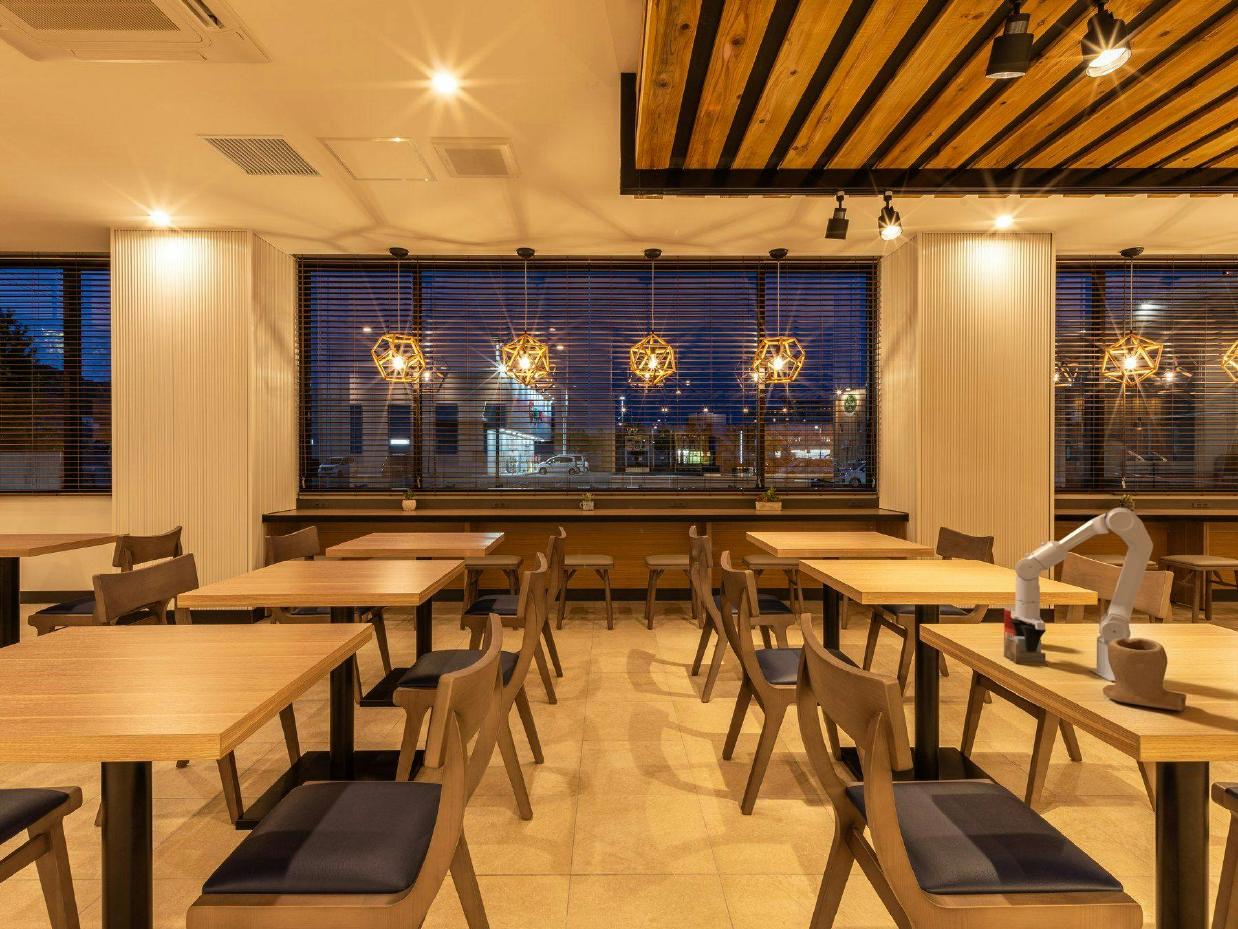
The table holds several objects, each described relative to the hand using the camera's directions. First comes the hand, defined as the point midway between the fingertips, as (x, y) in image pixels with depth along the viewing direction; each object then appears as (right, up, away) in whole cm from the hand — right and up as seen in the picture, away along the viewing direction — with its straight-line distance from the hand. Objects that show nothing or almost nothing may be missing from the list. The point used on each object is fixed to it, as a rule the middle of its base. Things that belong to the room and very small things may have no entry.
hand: (1027, 648), depth 172 cm
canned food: (+9, -4, +17) cm, 20 cm away
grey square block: (0, -3, 0) cm, 3 cm away
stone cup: (+6, -4, -32) cm, 32 cm away
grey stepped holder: (-1, -3, 0) cm, 3 cm away
